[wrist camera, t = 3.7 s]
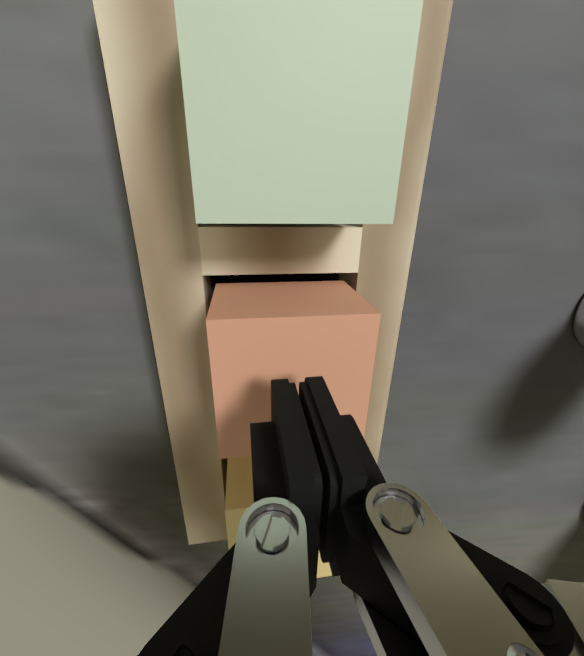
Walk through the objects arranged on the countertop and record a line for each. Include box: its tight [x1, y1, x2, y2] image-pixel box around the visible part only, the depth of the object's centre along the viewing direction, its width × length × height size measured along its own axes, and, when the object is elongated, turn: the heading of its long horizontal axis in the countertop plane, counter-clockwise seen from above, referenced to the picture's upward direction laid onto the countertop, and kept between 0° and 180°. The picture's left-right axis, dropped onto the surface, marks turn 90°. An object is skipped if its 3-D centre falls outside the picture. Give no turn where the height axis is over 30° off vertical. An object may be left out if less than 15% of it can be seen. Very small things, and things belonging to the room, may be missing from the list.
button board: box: [93, 0, 453, 545], centre depth 17 cm, size 12×28×3 cm, turn 179°
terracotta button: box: [206, 281, 381, 459], centre depth 14 cm, size 6×6×4 cm
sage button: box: [174, 0, 423, 224], centre depth 10 cm, size 6×6×4 cm
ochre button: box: [225, 456, 332, 578], centre depth 17 cm, size 6×6×4 cm
